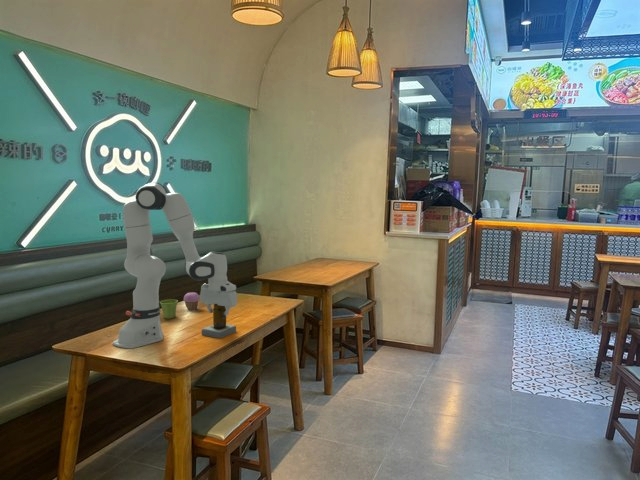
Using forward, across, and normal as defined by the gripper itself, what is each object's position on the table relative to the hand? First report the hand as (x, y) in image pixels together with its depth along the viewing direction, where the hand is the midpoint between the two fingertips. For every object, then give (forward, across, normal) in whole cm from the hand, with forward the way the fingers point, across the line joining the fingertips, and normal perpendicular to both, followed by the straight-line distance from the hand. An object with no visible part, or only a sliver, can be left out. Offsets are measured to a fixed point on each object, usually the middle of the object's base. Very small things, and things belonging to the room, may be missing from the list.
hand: (218, 313), depth 222 cm
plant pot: (+10, -42, +9) cm, 44 cm away
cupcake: (+10, -43, +27) cm, 52 cm away
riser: (+10, 0, 0) cm, 10 cm away
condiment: (+7, +1, 0) cm, 7 cm away
